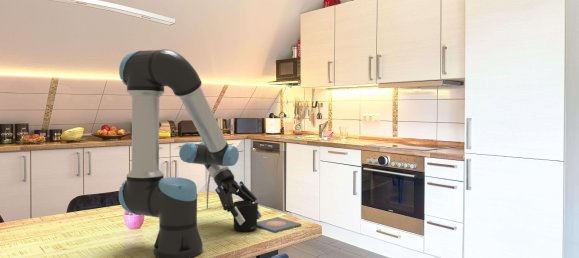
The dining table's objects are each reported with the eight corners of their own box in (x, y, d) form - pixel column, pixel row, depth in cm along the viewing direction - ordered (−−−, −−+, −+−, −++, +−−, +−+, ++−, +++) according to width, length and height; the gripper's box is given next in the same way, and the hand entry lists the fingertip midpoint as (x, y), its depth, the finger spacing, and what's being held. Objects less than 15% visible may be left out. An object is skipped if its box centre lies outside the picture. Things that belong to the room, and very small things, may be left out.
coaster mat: (274, 232, 157) (274, 230, 157) (251, 225, 167) (251, 222, 167) (301, 225, 167) (301, 223, 167) (277, 218, 177) (277, 216, 177)
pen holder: (234, 233, 156) (234, 206, 155) (231, 226, 165) (231, 201, 164) (259, 231, 158) (260, 205, 158) (255, 225, 167) (255, 199, 167)
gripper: (235, 176, 179) (264, 220, 170) (195, 184, 161) (225, 232, 152) (245, 165, 175) (275, 208, 167) (205, 171, 157) (236, 220, 149)
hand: (251, 220), depth 159 cm, fingers closed on pen holder, 9 cm apart
